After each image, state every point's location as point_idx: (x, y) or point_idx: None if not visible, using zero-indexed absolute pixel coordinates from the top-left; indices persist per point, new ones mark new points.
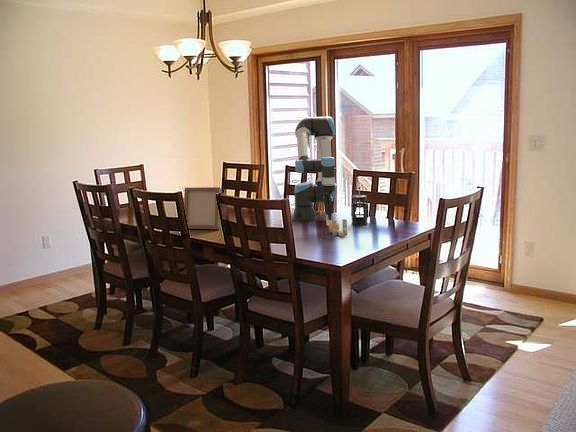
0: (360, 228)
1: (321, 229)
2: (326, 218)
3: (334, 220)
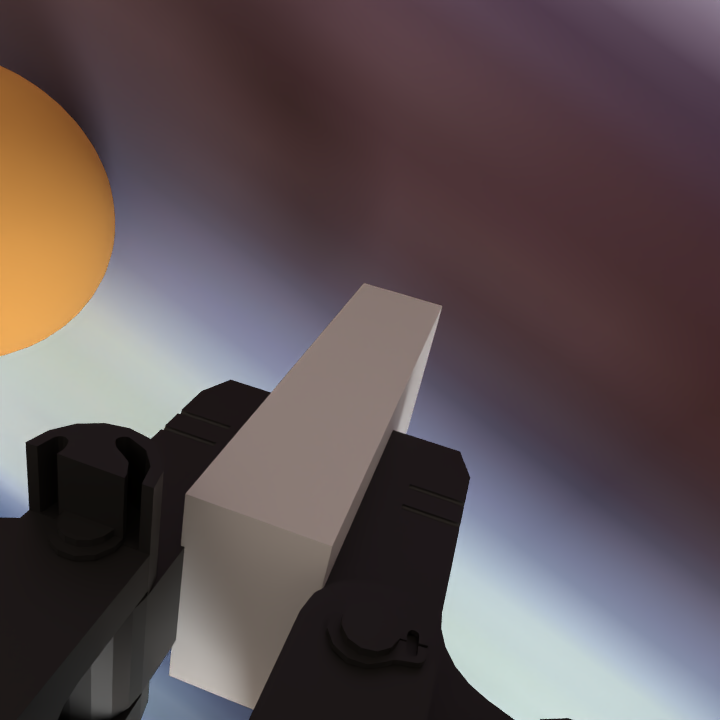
0: (172, 703)
1: (577, 163)
2: (373, 402)
3: None
